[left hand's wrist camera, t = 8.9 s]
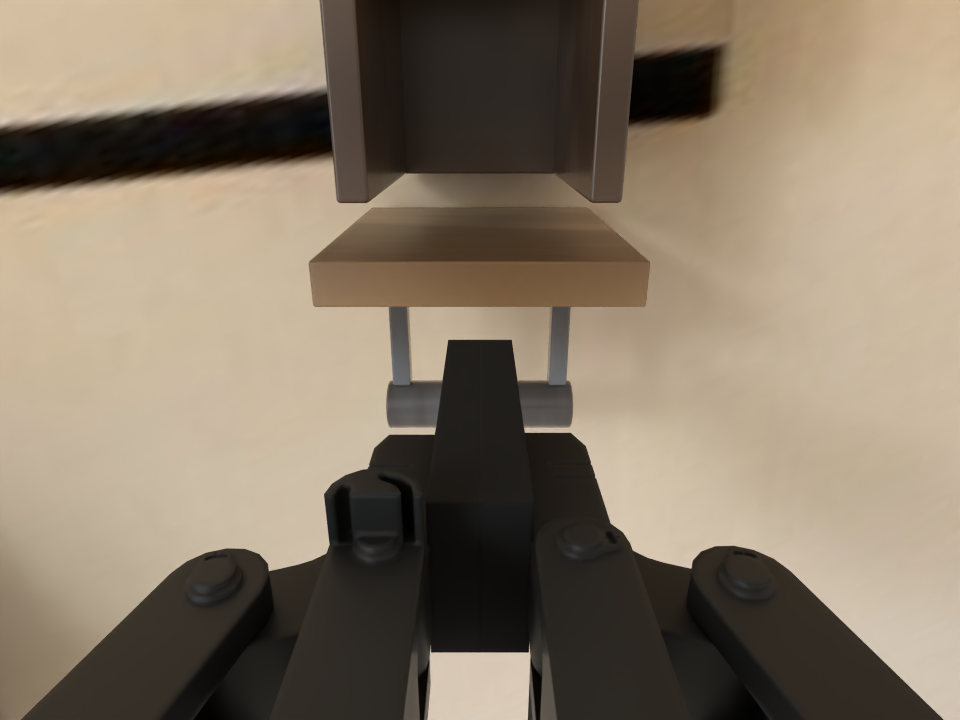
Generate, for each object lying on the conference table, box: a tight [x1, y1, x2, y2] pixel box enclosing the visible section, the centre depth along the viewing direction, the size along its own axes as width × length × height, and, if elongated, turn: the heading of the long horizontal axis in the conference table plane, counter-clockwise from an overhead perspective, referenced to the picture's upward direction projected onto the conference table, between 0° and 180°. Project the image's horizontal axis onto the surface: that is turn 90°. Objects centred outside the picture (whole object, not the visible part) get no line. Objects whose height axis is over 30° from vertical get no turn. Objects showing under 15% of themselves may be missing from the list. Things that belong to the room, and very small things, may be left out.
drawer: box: [309, 0, 650, 428], centre depth 17 cm, size 26×9×10 cm, turn 0°
